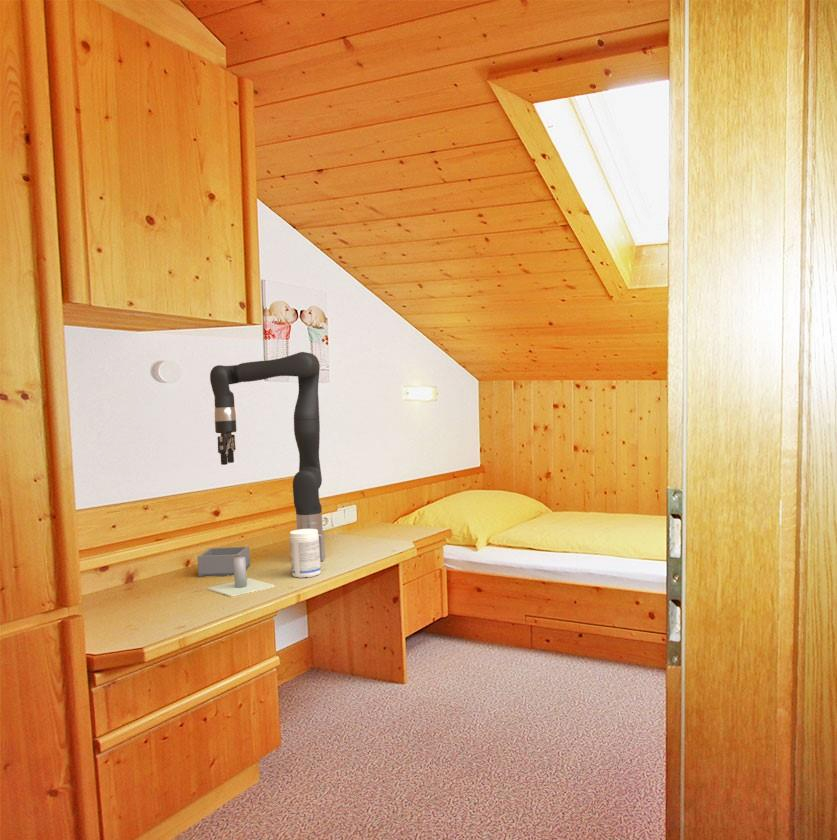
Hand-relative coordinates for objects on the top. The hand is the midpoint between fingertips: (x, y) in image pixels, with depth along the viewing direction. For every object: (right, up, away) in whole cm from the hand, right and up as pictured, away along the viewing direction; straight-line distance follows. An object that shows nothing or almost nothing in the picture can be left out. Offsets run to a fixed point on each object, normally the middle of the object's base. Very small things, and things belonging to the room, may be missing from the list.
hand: (227, 463), depth 265 cm
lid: (+15, -37, -40) cm, 57 cm away
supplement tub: (+33, -36, -27) cm, 55 cm away
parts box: (+3, -36, -16) cm, 40 cm away
